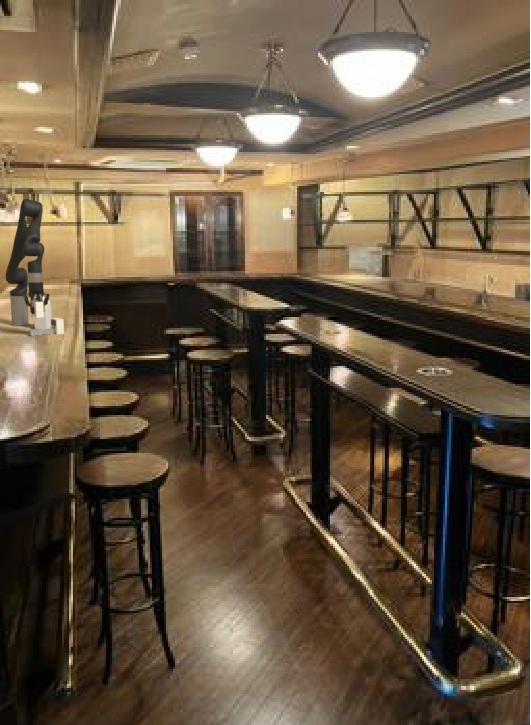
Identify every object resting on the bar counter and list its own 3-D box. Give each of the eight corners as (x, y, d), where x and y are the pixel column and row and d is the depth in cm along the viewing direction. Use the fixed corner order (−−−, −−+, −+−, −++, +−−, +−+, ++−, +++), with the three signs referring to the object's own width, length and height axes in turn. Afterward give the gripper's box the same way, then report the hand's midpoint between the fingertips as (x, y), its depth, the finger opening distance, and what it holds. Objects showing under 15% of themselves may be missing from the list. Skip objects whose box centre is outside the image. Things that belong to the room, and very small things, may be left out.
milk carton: (52, 327, 358) (50, 294, 354) (46, 329, 351) (44, 296, 347) (40, 327, 358) (38, 294, 354) (34, 329, 351) (32, 295, 347)
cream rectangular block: (30, 316, 331) (30, 301, 330) (38, 315, 334) (38, 300, 333) (36, 317, 326) (35, 302, 325) (44, 317, 329) (43, 302, 328)
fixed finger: (50, 332, 341) (49, 318, 339) (58, 332, 344) (57, 317, 342) (56, 334, 336) (55, 319, 334) (64, 333, 339) (63, 319, 337)
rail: (29, 335, 330) (29, 330, 330) (60, 332, 342) (59, 327, 341) (31, 336, 329) (31, 330, 328) (62, 333, 340) (61, 327, 340)
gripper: (45, 280, 334) (47, 311, 337) (19, 281, 324) (21, 313, 328) (51, 281, 329) (53, 313, 332) (25, 282, 319) (27, 315, 322)
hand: (37, 313), depth 330 cm, fingers closed on cream rectangular block, 4 cm apart
